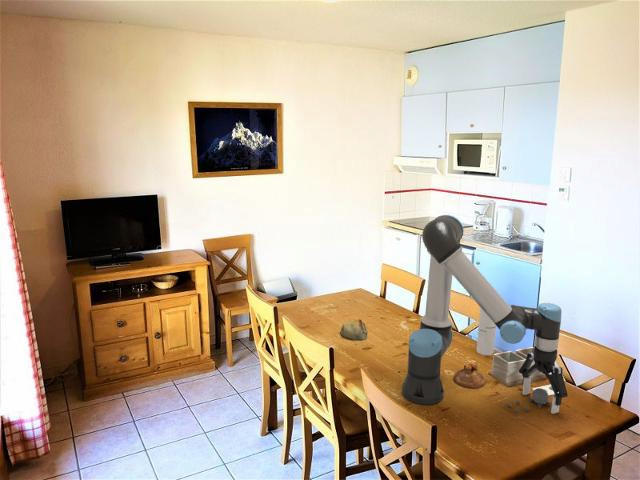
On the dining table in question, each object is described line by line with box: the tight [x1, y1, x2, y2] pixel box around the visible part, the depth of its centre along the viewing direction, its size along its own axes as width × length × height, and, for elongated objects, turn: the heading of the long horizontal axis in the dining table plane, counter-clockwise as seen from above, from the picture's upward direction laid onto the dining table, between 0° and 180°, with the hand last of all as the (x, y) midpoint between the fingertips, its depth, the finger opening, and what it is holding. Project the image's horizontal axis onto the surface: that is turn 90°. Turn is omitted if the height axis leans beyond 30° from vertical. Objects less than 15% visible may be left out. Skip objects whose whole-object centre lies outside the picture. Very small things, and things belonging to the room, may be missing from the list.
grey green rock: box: [340, 318, 368, 341], centre depth 238 cm, size 14×12×8 cm
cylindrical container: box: [476, 306, 497, 356], centre depth 219 cm, size 7×7×25 cm
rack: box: [488, 346, 548, 388], centre depth 199 cm, size 21×11×9 cm, turn 111°
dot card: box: [531, 383, 559, 396], centre depth 189 cm, size 10×6×1 cm, turn 111°
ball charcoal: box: [531, 388, 550, 405], centre depth 180 cm, size 6×6×6 cm
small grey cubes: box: [505, 397, 552, 415], centre depth 178 cm, size 15×5×1 cm, turn 111°
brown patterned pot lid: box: [453, 362, 486, 389], centre depth 195 cm, size 12×12×7 cm
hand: (540, 403), depth 180 cm, fingers open, 13 cm apart
